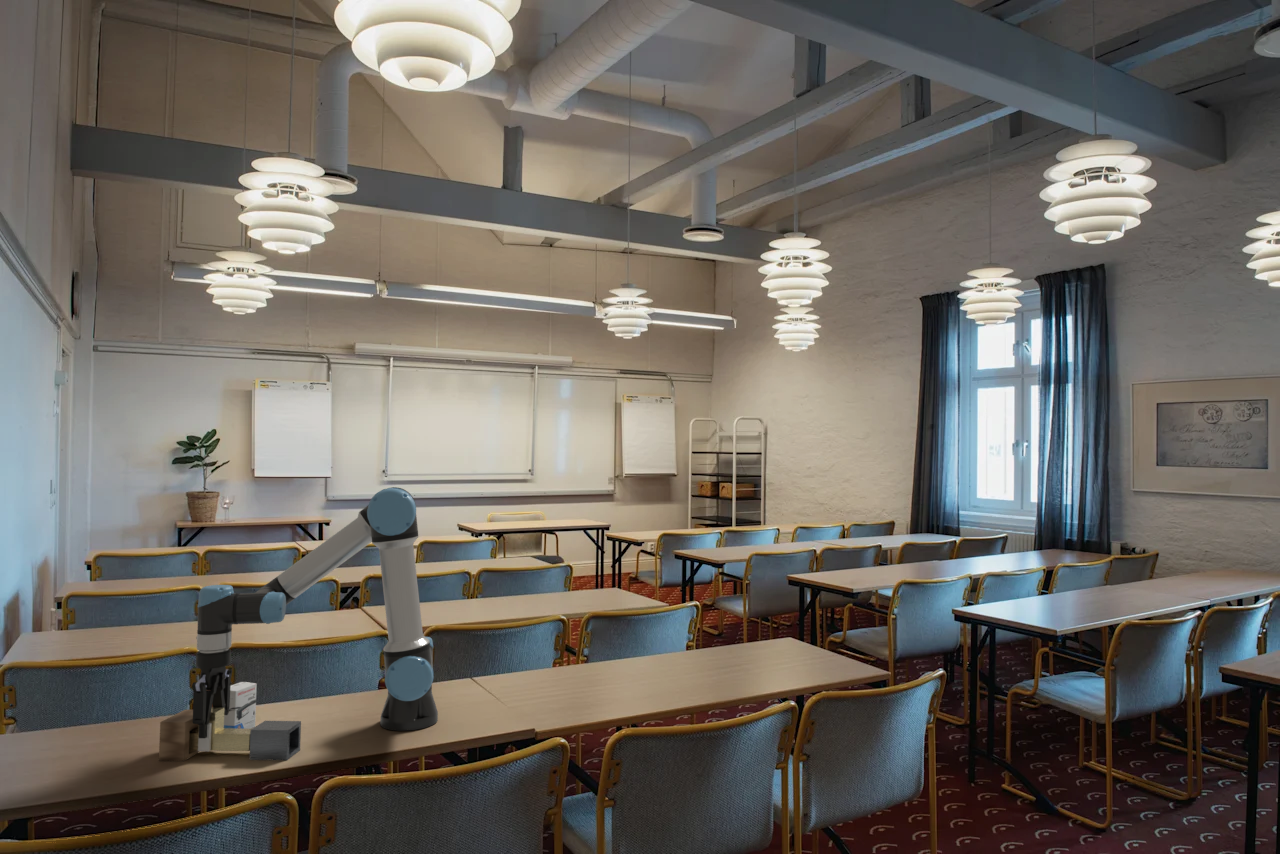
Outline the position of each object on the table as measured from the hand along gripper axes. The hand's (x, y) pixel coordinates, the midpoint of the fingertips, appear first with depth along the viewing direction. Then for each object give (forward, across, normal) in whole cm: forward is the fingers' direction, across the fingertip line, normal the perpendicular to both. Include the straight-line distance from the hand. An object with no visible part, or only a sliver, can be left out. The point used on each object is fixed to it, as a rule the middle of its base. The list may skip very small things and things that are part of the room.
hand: (210, 746), depth 193 cm
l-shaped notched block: (0, 0, +2) cm, 2 cm away
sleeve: (+2, 0, +16) cm, 16 cm away
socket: (+2, 0, -6) cm, 7 cm away
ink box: (+2, -17, -2) cm, 17 cm away
